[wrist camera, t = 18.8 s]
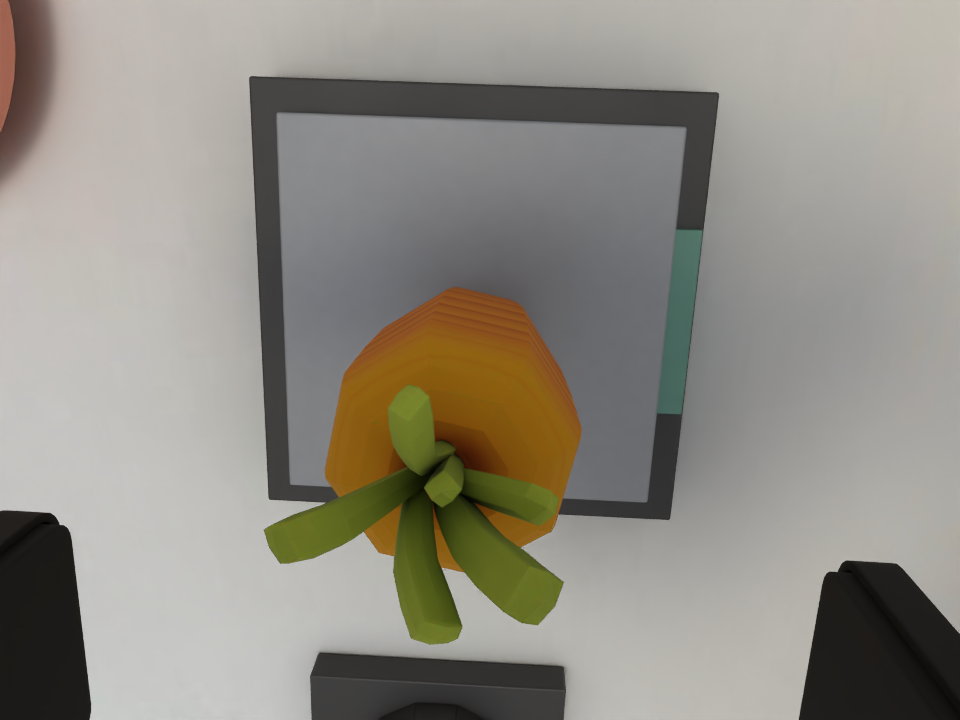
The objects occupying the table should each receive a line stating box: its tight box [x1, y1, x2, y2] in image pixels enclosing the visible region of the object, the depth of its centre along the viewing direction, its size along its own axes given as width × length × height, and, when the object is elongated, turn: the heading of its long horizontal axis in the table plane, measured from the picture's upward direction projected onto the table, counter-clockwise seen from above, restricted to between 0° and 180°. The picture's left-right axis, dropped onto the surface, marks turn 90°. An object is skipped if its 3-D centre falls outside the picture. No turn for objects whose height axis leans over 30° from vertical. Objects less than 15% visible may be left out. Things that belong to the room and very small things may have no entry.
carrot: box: [264, 287, 582, 644], centre depth 17 cm, size 5×5×15 cm
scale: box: [249, 76, 719, 520], centre depth 26 cm, size 14×14×3 cm
